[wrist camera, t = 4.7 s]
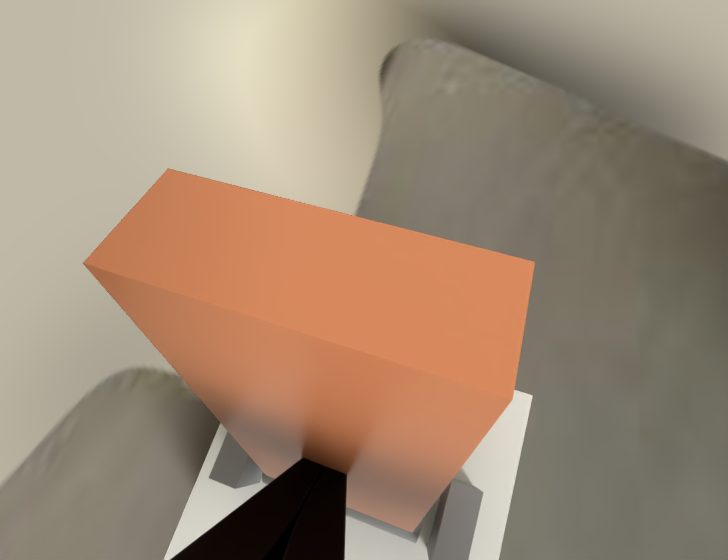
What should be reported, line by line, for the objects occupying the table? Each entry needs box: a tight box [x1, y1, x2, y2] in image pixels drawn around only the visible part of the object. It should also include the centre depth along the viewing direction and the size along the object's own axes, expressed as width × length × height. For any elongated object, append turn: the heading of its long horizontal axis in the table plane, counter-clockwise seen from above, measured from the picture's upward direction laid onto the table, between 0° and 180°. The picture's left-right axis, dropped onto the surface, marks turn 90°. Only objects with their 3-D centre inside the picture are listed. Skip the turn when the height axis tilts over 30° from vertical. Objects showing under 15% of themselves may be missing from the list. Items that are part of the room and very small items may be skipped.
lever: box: [83, 169, 535, 543], centre depth 9 cm, size 2×4×11 cm, turn 71°
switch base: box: [164, 390, 532, 560], centre depth 14 cm, size 8×9×6 cm
